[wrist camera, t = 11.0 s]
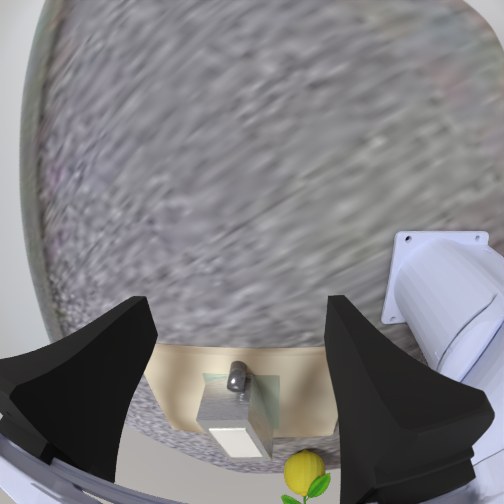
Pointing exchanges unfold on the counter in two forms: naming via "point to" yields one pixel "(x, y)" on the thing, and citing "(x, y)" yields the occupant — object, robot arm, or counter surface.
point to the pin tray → (236, 367)
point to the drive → (237, 420)
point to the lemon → (305, 476)
